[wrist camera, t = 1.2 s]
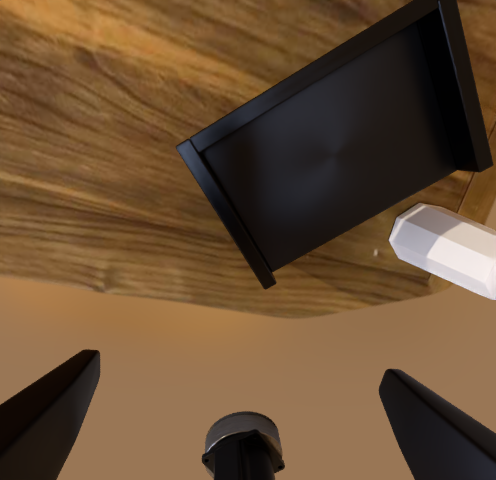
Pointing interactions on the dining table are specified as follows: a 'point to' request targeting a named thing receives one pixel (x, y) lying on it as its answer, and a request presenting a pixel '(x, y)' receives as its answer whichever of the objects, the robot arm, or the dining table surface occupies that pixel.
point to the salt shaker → (447, 247)
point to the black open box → (344, 137)
